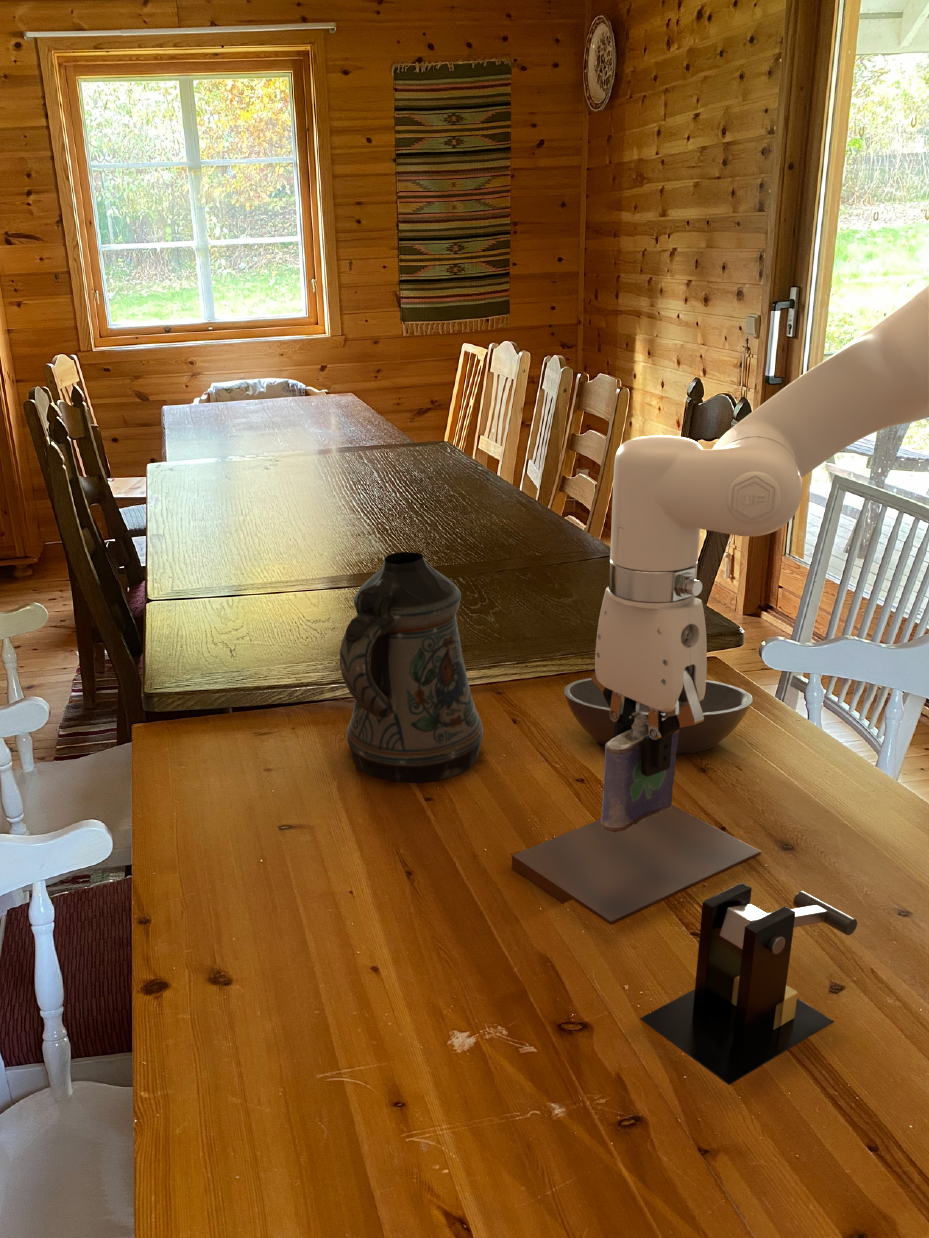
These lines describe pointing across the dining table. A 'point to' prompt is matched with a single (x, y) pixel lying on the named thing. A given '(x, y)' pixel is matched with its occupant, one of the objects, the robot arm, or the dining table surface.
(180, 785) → the dining table surface
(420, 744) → the beer stein
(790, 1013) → the butter
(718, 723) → the bowl
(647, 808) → the flask
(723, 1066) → the dark brown stand
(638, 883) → the cutting board
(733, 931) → the lever
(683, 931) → the dining table surface
